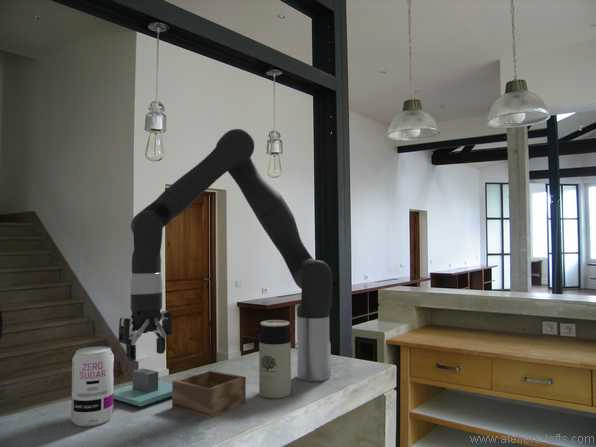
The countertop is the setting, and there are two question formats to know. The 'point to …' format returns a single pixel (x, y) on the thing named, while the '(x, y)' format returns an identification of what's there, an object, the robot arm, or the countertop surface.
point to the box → (208, 393)
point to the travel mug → (275, 359)
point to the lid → (143, 389)
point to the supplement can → (92, 386)
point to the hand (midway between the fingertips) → (146, 356)
